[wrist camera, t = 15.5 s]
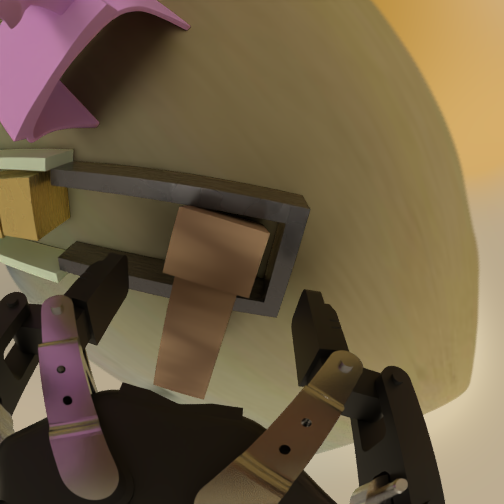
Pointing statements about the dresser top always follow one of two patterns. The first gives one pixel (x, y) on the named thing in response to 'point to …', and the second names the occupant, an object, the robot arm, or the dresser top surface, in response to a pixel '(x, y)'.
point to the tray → (24, 251)
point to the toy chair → (52, 59)
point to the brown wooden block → (204, 292)
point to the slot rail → (200, 195)
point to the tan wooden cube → (31, 204)
